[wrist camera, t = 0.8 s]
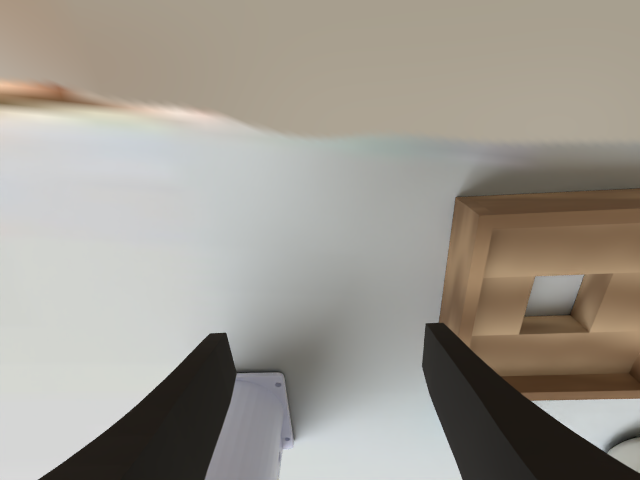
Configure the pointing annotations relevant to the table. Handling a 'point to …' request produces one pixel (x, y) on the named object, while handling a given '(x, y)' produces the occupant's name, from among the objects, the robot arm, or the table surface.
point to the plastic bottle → (628, 453)
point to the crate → (549, 260)
